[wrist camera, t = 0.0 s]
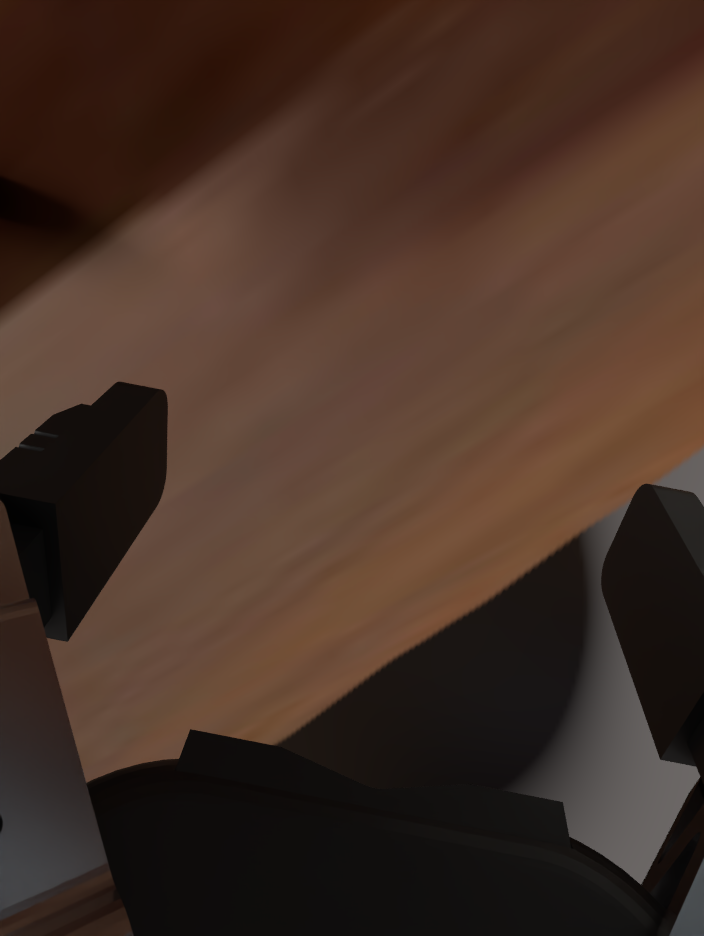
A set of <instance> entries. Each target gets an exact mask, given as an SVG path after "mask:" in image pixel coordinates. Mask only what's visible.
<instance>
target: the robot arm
mask: <svg viewBox="0 0 704 936" xmlns="http://www.w3.org/2000/svg"><path fill="white" fill-rule="evenodd" d="M167 417H168V402H167V396H166V393H165V391H164V390H161V389H155V388H150V387H145V386H140V385H134V384H129V383H124V382H117V383H115V384H114V385H113V386H112V387H111V388H110V389H109V390H107V391H106V392H105V393H104V394H103V395H102V396H101V397H100V398H99V399H98V400H97V401H96V402H94V403H93V404H92V405H85V404H79V405H77V406H74V407H72V408H69V409H67V410H64V411H62V412H59V413H57V414H54V415H52V416H51V417H50V418H49V419H48V420H47V421H45V422H44V423H43V424H42V425H41V426H40V427H38V428H37V429H36V430H35V433H34V434H30V435H29V436H28V437H27V438H26V439H24V440H23V441H22V442H21V443H20V445H19V448H18V447H15V448H14V449H13V450H12V451H10V452H9V453H8V454H7V455H6V456H5V457H3V458H2V459H1V460H0V936H704V507H703V505H702V504H701V502H700V500H699V499H698V497H697V496H696V495H695V494H694V493H692V492H688V491H683V490H677V489H671V488H667V487H662V486H656V485H651V484H644V485H642V486H641V487H640V488H639V489H638V490H637V491H636V493H635V494H634V496H633V498H632V501H631V503H630V505H629V507H628V509H627V511H626V514H625V516H624V518H623V520H622V522H621V525H620V527H619V529H618V531H617V533H616V536H615V538H614V540H613V542H612V544H611V547H610V549H609V551H608V553H607V555H606V558H605V561H604V564H603V569H602V577H601V585H602V592H603V596H604V599H605V602H606V604H607V607H608V610H609V613H610V616H611V619H612V622H613V625H614V627H615V630H616V633H617V636H618V639H619V642H620V645H621V648H622V651H623V653H624V656H625V659H626V662H627V665H628V668H629V671H630V674H631V677H632V679H633V682H634V685H635V688H636V691H637V694H638V696H639V700H640V702H641V705H642V708H643V711H644V714H645V717H646V720H647V723H648V725H649V728H650V731H651V734H652V737H653V740H654V743H655V746H656V749H657V751H658V754H659V757H660V759H661V760H665V761H670V762H676V763H681V764H686V765H691V766H696V767H697V769H698V772H699V774H700V778H699V779H698V781H697V782H696V784H695V785H694V787H693V788H692V789H691V791H690V792H689V794H688V796H687V798H686V799H685V802H684V803H683V805H682V807H681V809H680V811H679V813H678V815H677V817H676V819H675V821H674V823H673V825H672V827H671V828H670V830H669V832H668V834H667V836H666V838H665V840H664V842H663V844H662V846H661V848H660V849H659V852H658V853H657V855H656V857H655V859H654V861H653V863H652V865H651V867H650V869H649V871H648V873H647V875H646V876H645V879H644V880H643V882H642V884H641V885H640V884H639V883H638V882H637V881H636V880H634V879H633V878H632V877H631V876H630V875H629V874H627V873H626V872H625V871H624V870H623V869H621V868H620V867H618V866H617V865H615V864H614V863H613V862H611V861H610V860H609V859H607V858H605V857H604V856H603V855H601V854H600V853H598V852H596V851H595V850H593V849H591V848H590V847H588V846H586V845H584V844H583V843H581V842H579V841H577V840H575V839H573V838H571V837H569V834H568V828H567V822H566V817H565V812H564V806H563V802H559V801H554V800H548V799H544V798H539V797H534V796H528V795H523V794H518V793H513V792H508V791H503V790H498V789H493V788H487V787H482V786H477V785H472V784H468V785H467V784H466V785H447V786H429V787H411V788H392V789H377V788H372V787H368V786H366V785H363V784H361V783H359V782H357V781H354V780H352V779H350V778H348V777H345V776H344V775H341V774H339V773H337V772H335V771H333V770H330V769H328V768H326V767H324V766H321V765H319V764H317V763H315V762H313V761H311V760H309V759H306V758H304V757H302V756H300V755H298V754H295V753H293V752H291V751H289V750H287V749H284V748H282V747H278V746H273V745H268V744H263V743H258V742H253V741H247V740H242V739H237V738H232V737H227V736H222V735H217V734H212V733H207V732H201V731H196V730H191V729H190V732H189V734H188V737H187V740H186V742H185V745H184V748H183V750H182V753H181V756H180V758H179V759H168V760H160V761H154V762H148V763H142V764H138V765H134V766H130V767H127V768H123V769H120V770H116V771H114V772H111V773H109V774H106V775H104V776H101V777H98V778H96V779H93V780H91V781H89V782H87V783H86V780H85V777H84V773H83V769H82V766H81V762H80V758H79V755H78V751H77V747H76V744H75V740H74V736H73V733H72V729H71V725H70V722H69V718H68V715H67V711H66V707H65V704H64V700H63V696H62V693H61V689H60V685H59V682H58V678H57V674H56V671H55V667H54V663H53V660H52V656H51V652H50V649H49V645H48V641H47V638H51V639H56V640H61V641H66V642H68V641H69V639H70V637H71V636H72V634H73V633H74V631H75V630H76V628H77V627H78V625H79V624H80V622H81V621H82V619H83V618H84V616H85V615H86V613H87V612H88V610H89V609H90V607H91V606H92V604H93V603H94V601H95V600H96V598H97V596H98V595H99V593H100V592H101V590H102V589H103V587H104V586H105V584H106V583H107V581H108V580H109V578H110V577H111V575H112V574H113V572H114V571H115V569H116V568H117V566H118V565H119V563H120V562H121V560H122V559H123V557H124V556H125V554H126V552H127V551H128V549H129V548H130V546H131V545H132V543H133V542H134V540H135V539H136V537H137V536H138V534H139V533H140V531H141V530H142V528H143V527H144V525H145V524H146V522H147V521H148V519H149V518H150V516H151V515H152V513H153V512H154V510H155V508H156V507H157V505H158V503H159V501H160V499H161V496H162V493H163V489H164V485H165V480H166V471H167Z"/></svg>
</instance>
